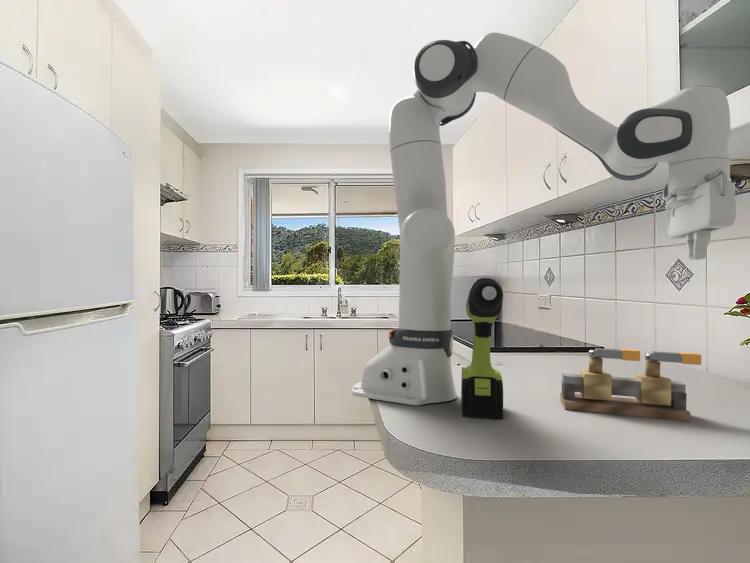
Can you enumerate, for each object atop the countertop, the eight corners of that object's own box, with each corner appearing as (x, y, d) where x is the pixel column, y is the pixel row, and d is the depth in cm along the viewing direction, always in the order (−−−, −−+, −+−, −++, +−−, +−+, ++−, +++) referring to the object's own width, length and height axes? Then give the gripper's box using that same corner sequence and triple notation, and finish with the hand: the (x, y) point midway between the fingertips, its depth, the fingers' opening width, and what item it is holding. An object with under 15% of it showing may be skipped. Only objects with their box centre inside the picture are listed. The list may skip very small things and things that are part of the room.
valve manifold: (564, 409, 87) (565, 359, 87) (560, 399, 95) (561, 353, 95) (690, 420, 81) (691, 367, 81) (674, 409, 89) (675, 360, 89)
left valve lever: (589, 358, 88) (589, 348, 88) (587, 356, 91) (588, 346, 91) (640, 361, 85) (640, 351, 86) (637, 359, 88) (637, 349, 88)
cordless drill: (511, 439, 69) (514, 277, 69) (464, 436, 70) (467, 276, 70) (495, 401, 92) (498, 279, 92) (460, 399, 93) (463, 278, 93)
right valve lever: (646, 361, 86) (646, 351, 86) (643, 359, 88) (643, 349, 88) (701, 365, 83) (701, 354, 83) (696, 363, 85) (697, 353, 85)
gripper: (749, 164, 69) (748, 254, 69) (696, 192, 88) (695, 262, 88) (701, 167, 70) (700, 254, 70) (659, 193, 90) (658, 262, 90)
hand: (697, 259), depth 79 cm, fingers closed
